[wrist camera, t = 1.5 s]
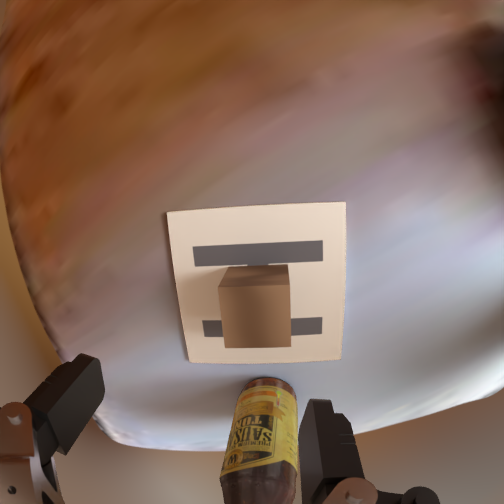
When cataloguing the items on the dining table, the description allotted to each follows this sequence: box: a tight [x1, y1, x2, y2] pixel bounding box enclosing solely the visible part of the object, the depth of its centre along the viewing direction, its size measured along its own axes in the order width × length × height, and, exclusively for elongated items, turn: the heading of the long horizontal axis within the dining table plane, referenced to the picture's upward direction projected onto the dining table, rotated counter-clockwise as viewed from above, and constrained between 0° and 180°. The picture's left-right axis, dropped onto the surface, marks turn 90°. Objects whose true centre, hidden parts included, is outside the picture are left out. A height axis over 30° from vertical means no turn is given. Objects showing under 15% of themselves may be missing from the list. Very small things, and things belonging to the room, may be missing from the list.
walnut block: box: [218, 264, 291, 348], centre depth 24 cm, size 5×5×5 cm
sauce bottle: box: [220, 378, 298, 504], centre depth 20 cm, size 7×6×20 cm
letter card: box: [167, 202, 346, 364], centre depth 26 cm, size 15×15×1 cm
